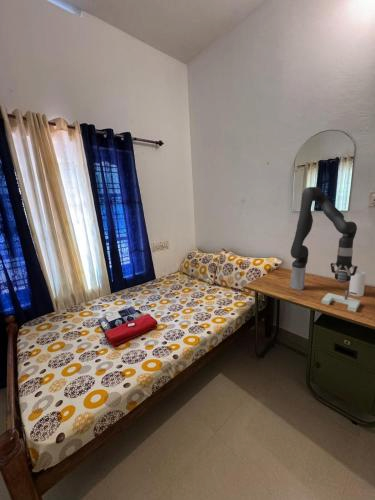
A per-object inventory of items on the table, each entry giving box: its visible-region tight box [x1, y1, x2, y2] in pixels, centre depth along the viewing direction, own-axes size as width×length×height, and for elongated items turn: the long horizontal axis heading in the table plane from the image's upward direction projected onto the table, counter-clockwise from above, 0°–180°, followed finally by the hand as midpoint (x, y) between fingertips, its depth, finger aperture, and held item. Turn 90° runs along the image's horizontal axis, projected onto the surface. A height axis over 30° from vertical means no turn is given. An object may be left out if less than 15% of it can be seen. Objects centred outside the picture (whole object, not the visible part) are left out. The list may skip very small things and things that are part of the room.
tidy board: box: [321, 289, 361, 313], centre depth 139 cm, size 18×14×8 cm
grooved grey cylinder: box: [336, 270, 348, 284], centre depth 136 cm, size 5×5×6 cm
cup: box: [348, 269, 367, 297], centre depth 150 cm, size 8×8×16 cm
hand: (342, 280), depth 137 cm, fingers closed on grooved grey cylinder, 5 cm apart
